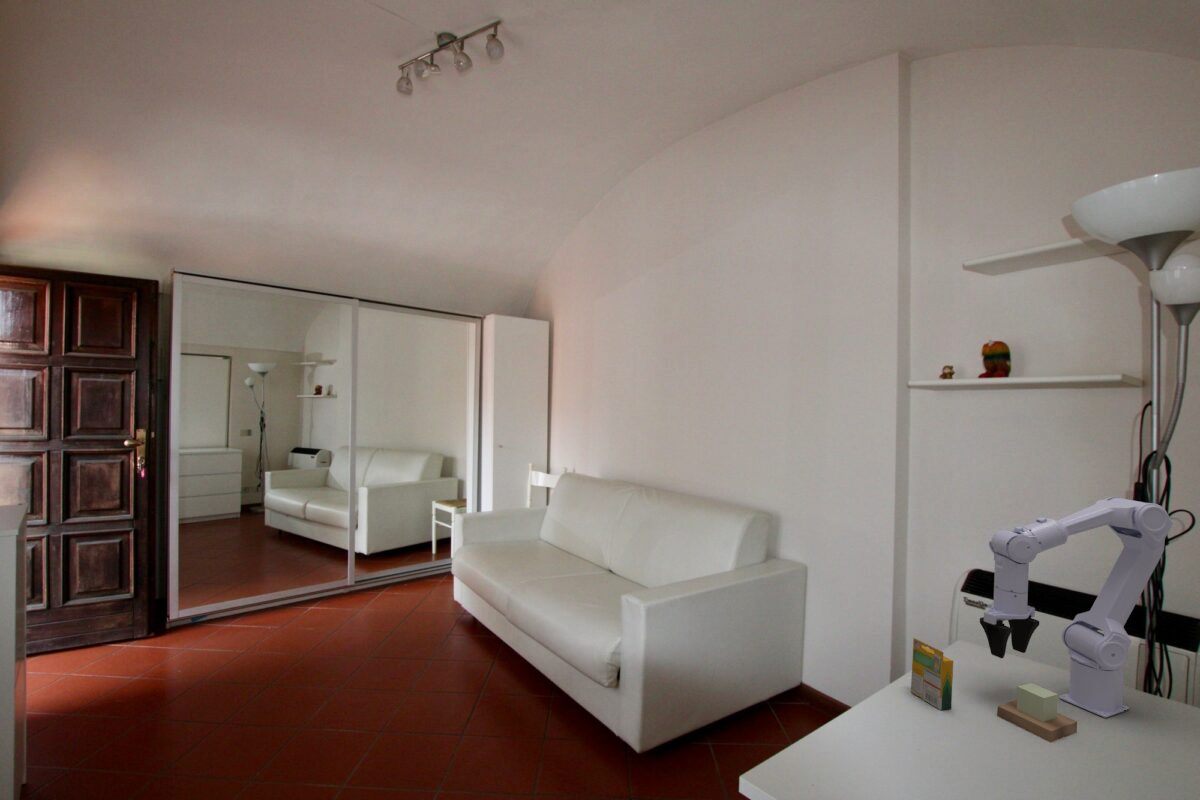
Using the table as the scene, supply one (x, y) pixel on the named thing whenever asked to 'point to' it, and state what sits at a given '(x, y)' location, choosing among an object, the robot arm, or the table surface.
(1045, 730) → the walnut base block
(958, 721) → the table surface
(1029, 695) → the sage cube
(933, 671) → the crayon box
